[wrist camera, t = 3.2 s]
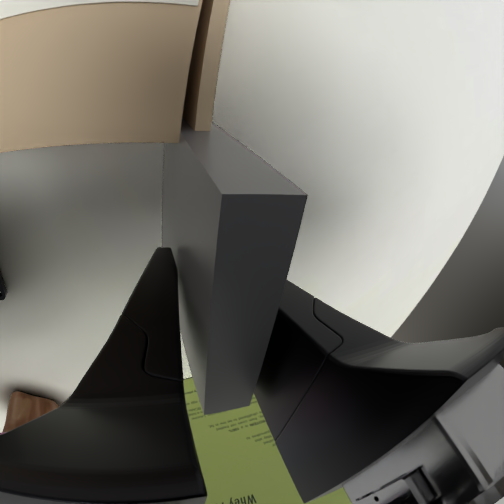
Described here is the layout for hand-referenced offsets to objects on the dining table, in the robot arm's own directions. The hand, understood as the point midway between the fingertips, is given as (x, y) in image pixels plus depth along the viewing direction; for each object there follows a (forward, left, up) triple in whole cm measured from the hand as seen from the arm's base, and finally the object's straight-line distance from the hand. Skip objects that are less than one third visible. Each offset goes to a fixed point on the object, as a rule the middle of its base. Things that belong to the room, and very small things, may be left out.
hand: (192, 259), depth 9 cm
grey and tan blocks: (+6, 0, -7) cm, 9 cm away
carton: (+8, +8, -7) cm, 13 cm away
